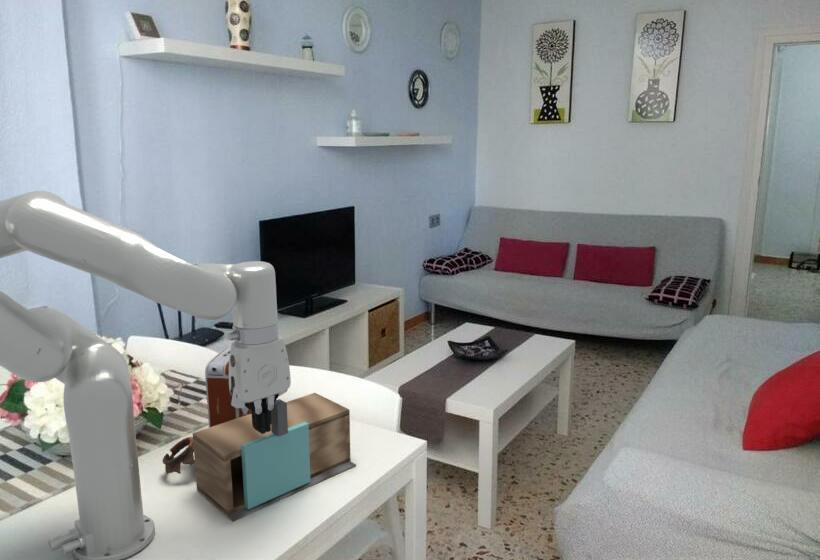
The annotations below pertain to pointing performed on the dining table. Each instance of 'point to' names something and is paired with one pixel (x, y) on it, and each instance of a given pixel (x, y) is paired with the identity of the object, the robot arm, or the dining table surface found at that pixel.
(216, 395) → the cine camera
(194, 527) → the dining table surface
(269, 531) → the dining table surface
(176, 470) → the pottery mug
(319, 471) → the cabinet
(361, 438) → the dining table surface
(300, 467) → the door
